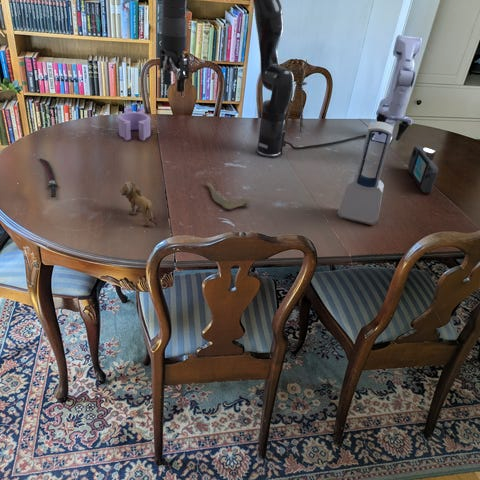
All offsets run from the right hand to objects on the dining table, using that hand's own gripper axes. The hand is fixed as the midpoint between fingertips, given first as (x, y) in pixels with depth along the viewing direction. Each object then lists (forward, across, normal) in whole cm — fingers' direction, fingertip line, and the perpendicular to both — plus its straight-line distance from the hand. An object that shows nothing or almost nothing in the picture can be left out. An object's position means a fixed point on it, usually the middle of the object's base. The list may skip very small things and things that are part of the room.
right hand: (388, 137), depth 186 cm
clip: (+10, -82, -62) cm, 103 cm away
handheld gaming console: (+10, +19, -8) cm, 23 cm away
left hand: (-19, -44, -75) cm, 89 cm away
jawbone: (+10, -19, -74) cm, 77 cm away
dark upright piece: (+10, -45, 0) cm, 46 cm away
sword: (+10, -65, -110) cm, 128 cm away
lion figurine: (+10, -27, -103) cm, 107 cm away
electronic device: (+10, +17, -52) cm, 56 cm away
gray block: (+10, +12, +15) cm, 22 cm away
